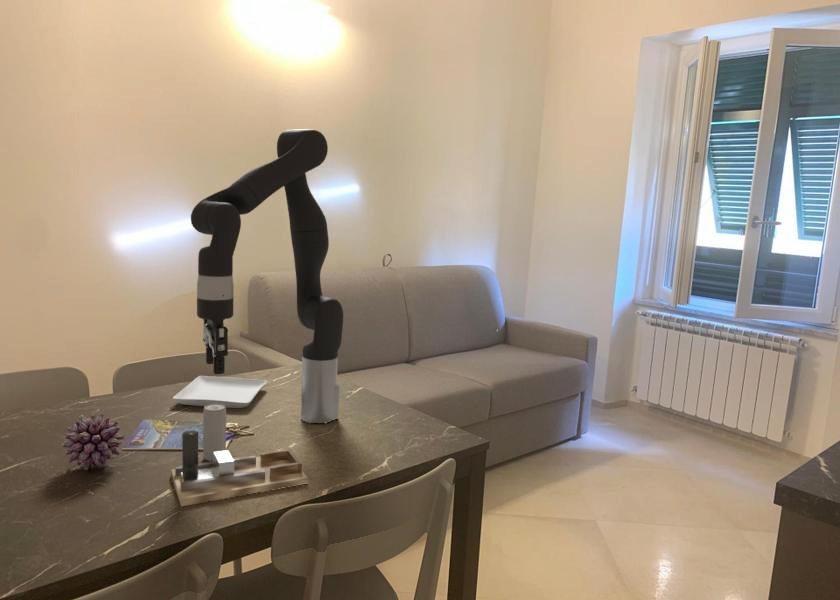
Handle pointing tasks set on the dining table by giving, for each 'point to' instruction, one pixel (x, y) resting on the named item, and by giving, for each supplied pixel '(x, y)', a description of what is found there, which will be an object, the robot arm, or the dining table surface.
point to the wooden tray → (242, 478)
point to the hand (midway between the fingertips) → (214, 368)
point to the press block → (190, 472)
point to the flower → (93, 441)
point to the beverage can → (214, 430)
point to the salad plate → (220, 391)
